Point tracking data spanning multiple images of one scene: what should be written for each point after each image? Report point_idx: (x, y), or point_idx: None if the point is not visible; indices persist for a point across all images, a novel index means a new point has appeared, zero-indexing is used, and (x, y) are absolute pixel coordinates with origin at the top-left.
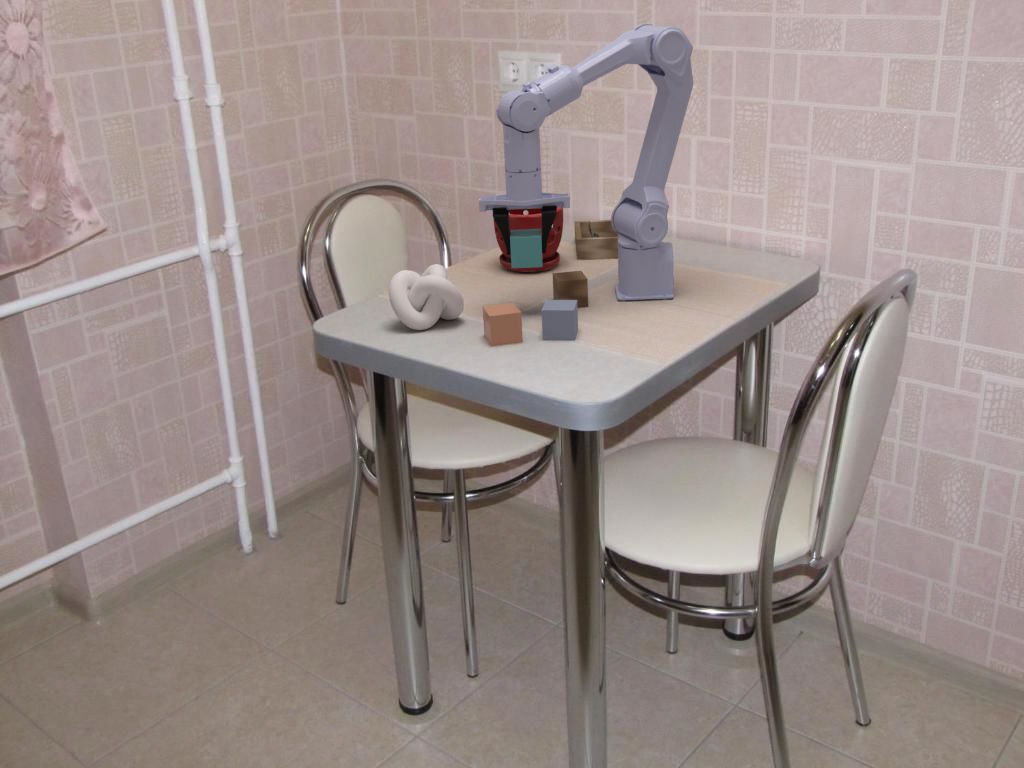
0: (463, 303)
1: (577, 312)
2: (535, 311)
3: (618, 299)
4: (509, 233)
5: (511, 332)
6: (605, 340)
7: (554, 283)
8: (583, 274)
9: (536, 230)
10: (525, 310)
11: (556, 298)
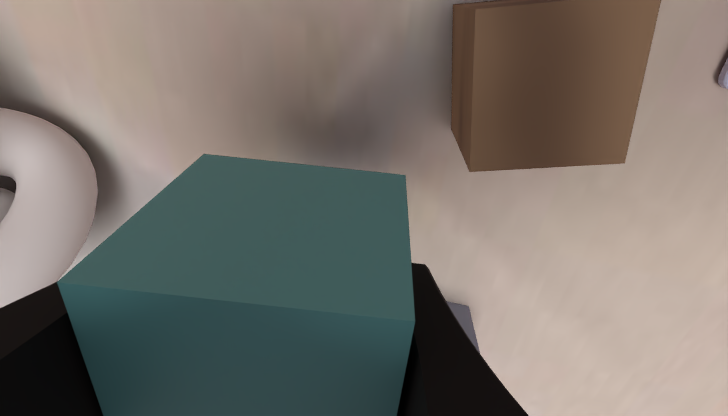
0: (84, 225)
1: (477, 347)
2: (362, 129)
3: (720, 84)
4: (82, 378)
5: None
6: (515, 379)
7: (465, 60)
8: (639, 79)
9: (353, 363)
10: (326, 110)
11: (456, 89)
